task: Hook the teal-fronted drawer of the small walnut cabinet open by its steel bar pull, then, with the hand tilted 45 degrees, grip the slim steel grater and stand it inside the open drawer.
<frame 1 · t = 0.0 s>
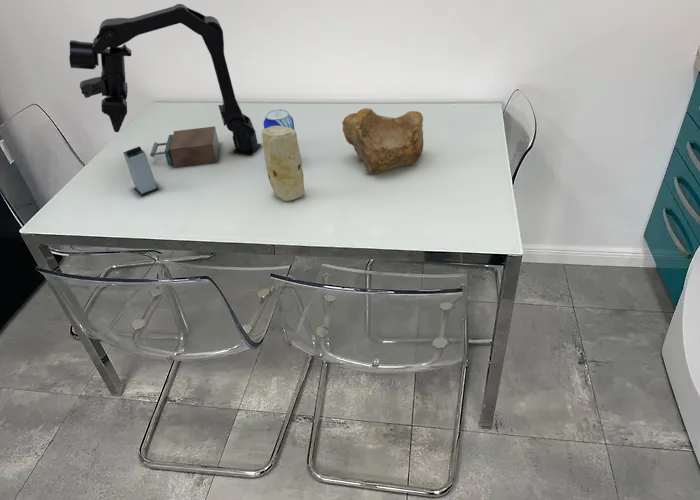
hand: (116, 125, 159), 15 cm above the table, tool pointing down, fingers open, 9 cm apart
food model: (288, 196, 153), on the table
cabinet: (197, 155, 175), on the table
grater: (146, 189, 161), on the table
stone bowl: (383, 165, 163), on the table
drawer: (180, 148, 173), point 3 cm above the table, slide at 0.5 cm
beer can: (285, 165, 167), on the table
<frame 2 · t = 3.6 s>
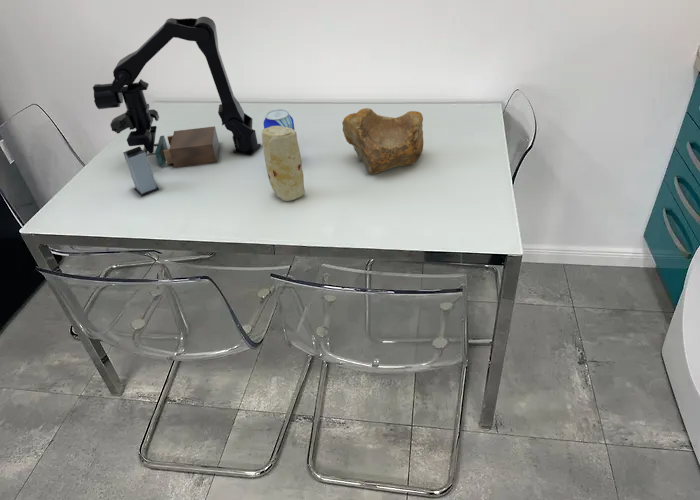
hand: (151, 152, 172), 3 cm above the table, tool pointing down, fingers closed, pressing on drawer
drawer: (171, 149, 172), point 3 cm above the table, slide at 3.2 cm, touching gripper
everything else where it was.
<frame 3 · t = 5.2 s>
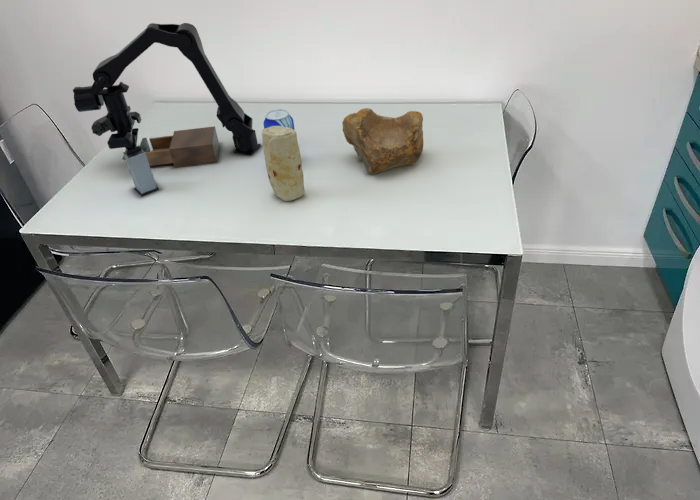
hand: (133, 155, 172), 3 cm above the table, tool pointing down, fingers closed
drawer: (153, 151, 172), point 3 cm above the table, slide at 8.7 cm
everything else where it was.
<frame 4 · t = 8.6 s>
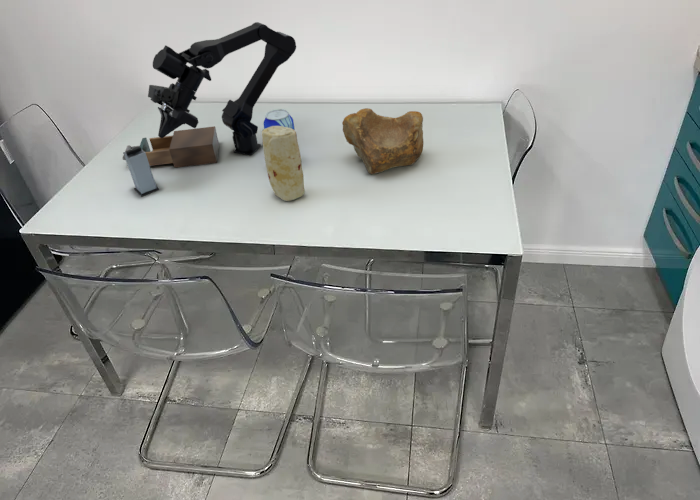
hand: (160, 137, 156), 13 cm above the table, tool tilted 45°, fingers closed
nothing on the table moved.
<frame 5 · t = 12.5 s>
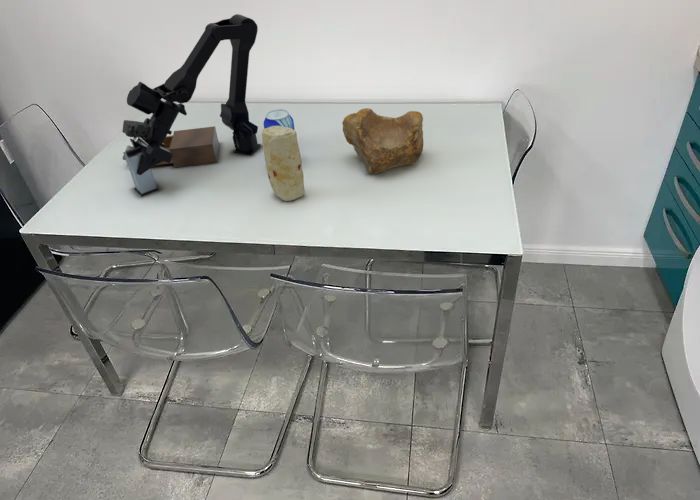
hand: (135, 171, 156), 7 cm above the table, tool tilted 45°, fingers closed on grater, 4 cm apart
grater: (146, 189, 161), on the table, touching gripper
everything else where it was.
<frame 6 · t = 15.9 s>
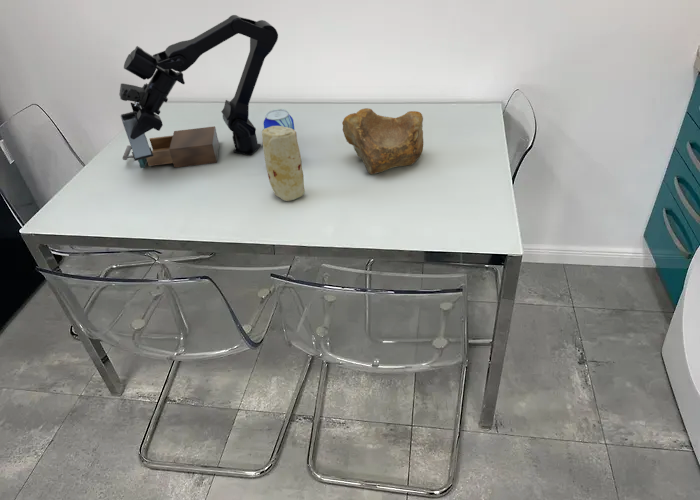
hand: (130, 135, 158), 14 cm above the table, tool tilted 45°, fingers closed on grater, 4 cm apart
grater: (142, 154, 163), point 7 cm above the table, touching gripper
everything else where it was.
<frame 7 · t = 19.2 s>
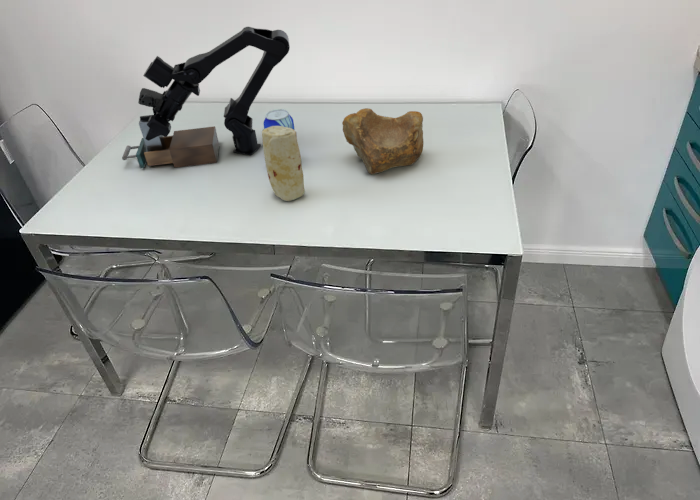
hand: (148, 135, 169), 8 cm above the table, tool tilted 45°, fingers closed on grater, 5 cm apart
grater: (158, 154, 173), point 2 cm above the table, touching drawer, gripper
drawer: (152, 151, 172), point 3 cm above the table, slide at 8.8 cm, touching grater
everything else where it was.
when the fingers open (8 cm above the table, at t = 19.3 s): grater stays where it is, resting on drawer.
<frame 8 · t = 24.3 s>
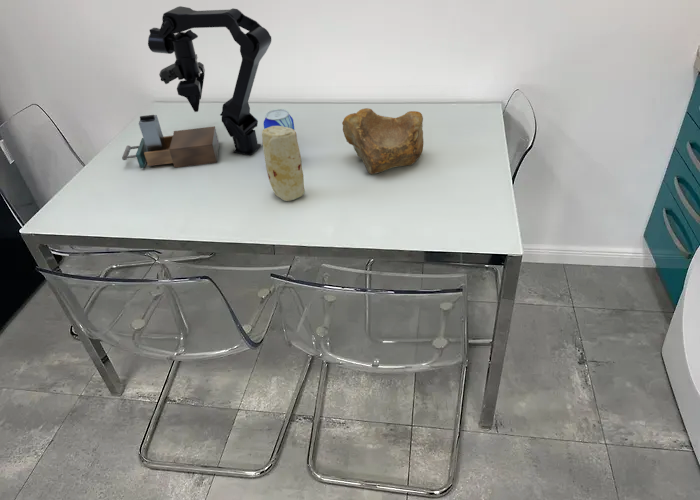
hand: (197, 105, 173), 13 cm above the table, tool pointing down, fingers open, 9 cm apart
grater: (158, 154, 173), point 2 cm above the table, touching drawer
everything else where it was.
at the end: drawer slide at 8.9 cm; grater inside the target area (0.1 cm from its centre), point 1.8 cm above the table; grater tilted 0° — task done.
